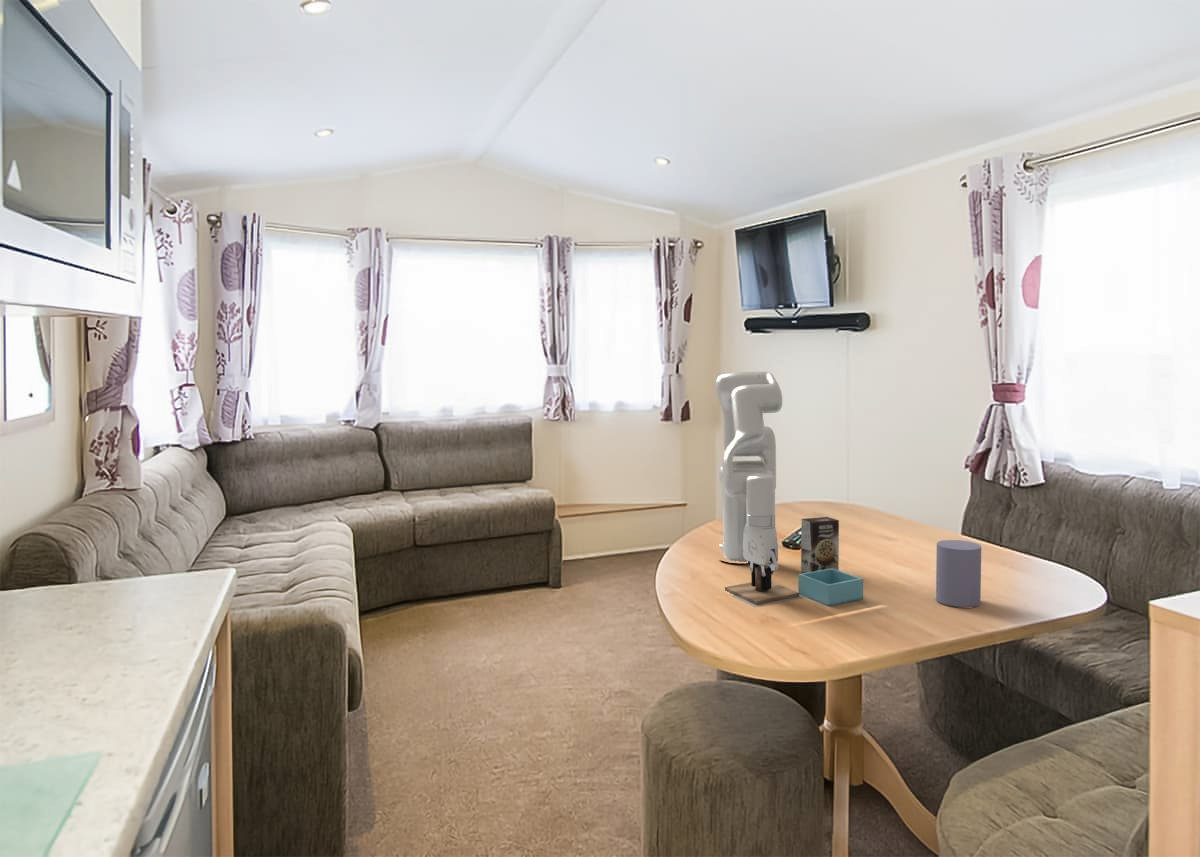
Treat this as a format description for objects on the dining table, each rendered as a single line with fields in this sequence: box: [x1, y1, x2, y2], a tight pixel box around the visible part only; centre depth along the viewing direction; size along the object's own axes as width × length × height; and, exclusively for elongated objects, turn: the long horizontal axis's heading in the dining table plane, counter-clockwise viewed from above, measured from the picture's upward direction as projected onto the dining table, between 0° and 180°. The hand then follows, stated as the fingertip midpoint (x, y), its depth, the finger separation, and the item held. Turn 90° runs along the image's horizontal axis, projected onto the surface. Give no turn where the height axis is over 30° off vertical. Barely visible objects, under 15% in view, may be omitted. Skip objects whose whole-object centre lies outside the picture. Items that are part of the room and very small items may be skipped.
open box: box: [797, 568, 864, 607], centre depth 199 cm, size 12×12×6 cm
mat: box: [729, 593, 805, 608], centre depth 203 cm, size 16×16×1 cm
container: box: [935, 539, 982, 608], centre depth 193 cm, size 10×10×15 cm
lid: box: [724, 567, 799, 605], centre depth 203 cm, size 14×14×7 cm
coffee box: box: [800, 516, 840, 573], centre depth 223 cm, size 9×6×16 cm
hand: (761, 586), depth 203 cm, fingers closed on lid, 3 cm apart
